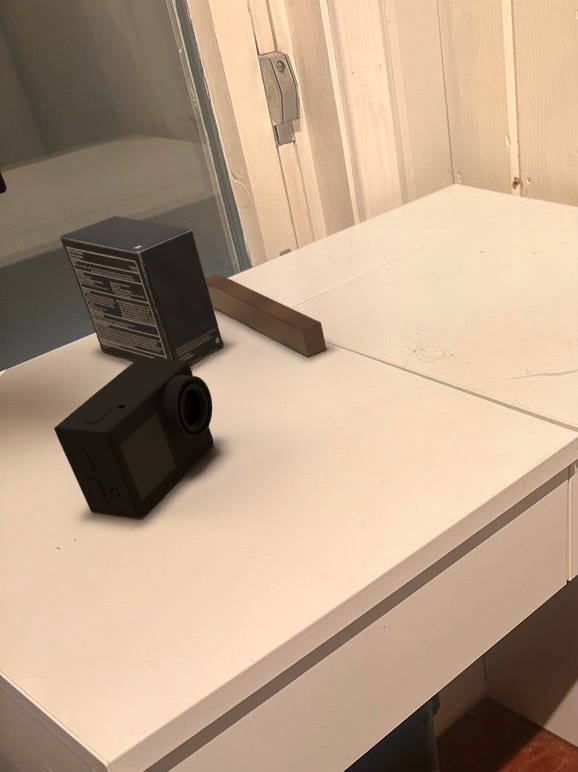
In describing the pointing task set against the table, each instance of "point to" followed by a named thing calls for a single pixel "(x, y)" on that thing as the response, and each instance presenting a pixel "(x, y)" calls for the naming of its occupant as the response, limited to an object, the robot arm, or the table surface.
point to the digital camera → (138, 435)
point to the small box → (144, 289)
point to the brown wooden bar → (266, 315)
